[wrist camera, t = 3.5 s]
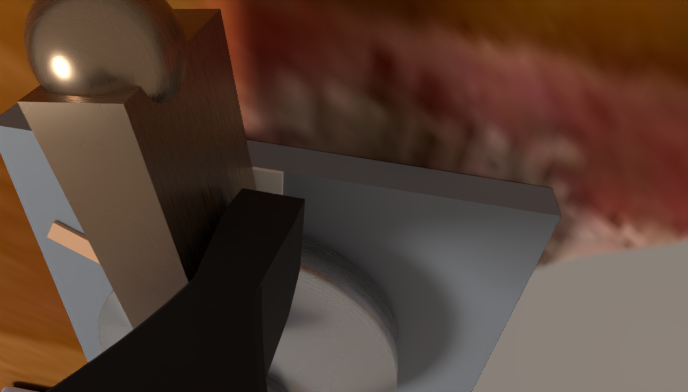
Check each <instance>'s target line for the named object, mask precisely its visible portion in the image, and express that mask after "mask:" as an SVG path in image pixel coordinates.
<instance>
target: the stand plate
mask: <svg viewBox="0 0 688 392" xmlns="http://www.w3.org/2000/svg"><path fill="white" fill-rule="evenodd" d="M247 145H248V150H249V155H250V160H251V165H252V170H253V175H254V180H255V185H256V190H257V191H263V192H268V193H273V194H280V195H286V196H291V197H297V198H303V199H305V209H304V223H303V237H304V238H307V239H309V240H312V241H314V242H317V243H319V244H321V245H323V246H325V247H327V248H329V249H331V250H332V251H334V252H336V253H338V254H340V255H341V256H343V257H344V258H346V259H347V260H349V261H350V262H352V263H353V264H355V265H356V266H357V267H358V268H359V269H361V270H362V271H363V272H364V273H365V274H367V275H368V276H369V277H370V278H371V279H372V280H373V281H374V283H375V284H376V285H377V286H378V287H379V288H380V289H381V291H382V292H383V293H384V295H385V296H386V298H387V299H388V300H389V302H390V304H391V306H392V308H393V310H394V312H395V315H396V319H397V322H398V326H399V353H398V372H397V388H396V392H472V390H473V388H474V386H475V384H476V382H477V380H478V378H479V376H480V374H481V372H482V370H483V368H484V366H485V365H486V363H487V360H488V359H489V357H490V355H491V353H492V351H493V349H494V347H495V345H496V343H497V341H498V339H499V337H500V335H501V333H502V331H503V329H504V327H505V325H506V323H507V321H508V319H509V318H510V315H511V314H512V312H513V310H514V308H515V306H516V304H517V302H518V300H519V298H520V296H521V294H522V292H523V290H524V288H525V286H526V284H527V282H528V280H529V278H530V276H531V275H532V273H533V271H534V269H535V267H536V265H537V263H538V261H539V259H540V257H541V255H542V253H543V251H544V249H545V247H546V245H547V243H548V241H549V239H550V237H551V235H552V233H553V231H554V230H555V228H556V226H557V224H558V222H559V220H560V218H561V214H560V211H559V208H558V205H557V202H556V199H555V196H554V193H553V189H552V188H547V187H540V186H534V185H528V184H521V183H515V182H509V181H503V180H496V179H490V178H484V177H477V176H471V175H465V174H459V173H452V172H446V171H440V170H433V169H427V168H421V167H415V166H408V165H402V164H396V163H389V162H383V161H377V160H371V159H364V158H358V157H352V156H345V155H339V154H333V153H327V152H320V151H314V150H308V149H301V148H295V147H289V146H283V145H276V144H270V143H264V142H257V141H251V140H247ZM0 153H1V155H2V157H3V160H4V162H5V165H6V167H7V169H8V172H9V174H10V177H11V179H12V181H13V184H14V186H15V189H16V191H17V193H18V196H19V198H20V201H21V203H22V205H23V208H24V210H25V213H26V215H27V217H28V220H29V222H30V225H31V227H32V229H33V232H34V234H35V237H36V239H37V241H38V244H39V246H40V248H41V251H42V253H43V256H44V258H45V260H46V263H47V265H48V268H49V270H50V272H51V275H52V277H53V280H54V282H55V284H56V287H57V289H58V292H59V294H60V296H61V299H62V301H63V304H64V306H65V308H66V311H67V313H68V316H69V318H70V320H71V323H72V325H73V328H74V330H75V332H76V335H77V337H78V340H79V342H80V344H81V347H82V349H83V351H84V354H85V356H86V359H87V361H88V362H90V361H91V360H93V359H94V358H95V357H97V356H98V355H100V354H101V353H102V352H103V351H102V349H101V346H100V343H99V339H98V334H97V322H98V316H99V313H100V311H101V308H102V306H103V304H104V303H105V301H106V299H107V298H108V296H109V295H110V293H111V292H112V290H113V288H112V286H111V284H110V282H109V280H108V278H107V276H106V275H105V273H104V271H103V269H102V267H101V265H100V263H99V261H98V259H97V257H96V255H95V253H94V251H93V249H92V247H91V245H90V243H89V241H88V239H87V237H86V235H85V233H84V231H83V229H82V227H81V226H80V224H79V222H78V220H77V218H76V216H75V214H74V212H73V210H72V208H71V206H70V204H69V202H68V200H67V198H66V196H65V194H64V192H63V190H62V188H61V186H60V184H59V182H58V180H57V178H56V177H55V175H54V173H53V171H52V169H51V167H50V165H49V163H48V161H47V159H46V157H45V155H44V153H43V151H42V149H41V147H40V145H39V143H38V141H37V139H36V137H35V135H34V133H33V131H32V129H31V128H30V126H29V124H28V122H27V120H26V118H25V116H24V114H23V112H22V110H21V108H20V106H19V104H18V103H17V104H15V105H14V106H13V107H11V108H10V109H8V110H7V111H6V112H4V113H3V114H2V115H0Z"/></svg>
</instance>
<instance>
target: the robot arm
mask: <svg viewBox="0 0 688 392" xmlns="http://www.w3.org/2000/svg"><path fill="white" fill-rule="evenodd" d="M304 209H305V199H303V198H297V197H291V196H286V195H280V194H273V193H268V192H263V191H257V190H251V189H245V188H242V189H241V190H240V192H239V193H238V194H237V195H236V196H235V197H234V199H233V200H232V201H231V203H230V204H229V206H228V207H227V208H226V210H225V211H224V213H223V215H222V217H221V219H220V221H219V224H218V226H217V228H216V230H215V232H214V234H213V236H212V239H211V241H210V243H209V245H208V247H207V250H206V252H205V254H204V256H203V258H202V261H201V263H200V265H199V267H198V269H197V272H196V274H195V276H194V278H193V279H192V280H191V281H190V282H189V283H187V284H186V285H185V286H184V287H183V288H182V289H181V290H180V291H179V292H178V293H176V294H175V295H174V296H173V297H172V298H171V299H170V300H169V301H167V302H166V303H165V304H164V305H163V306H162V307H160V308H159V309H158V310H157V311H156V312H154V313H153V314H152V315H151V316H150V317H148V318H147V319H146V320H145V321H143V322H142V323H141V324H140V325H138V326H137V327H136V328H134V329H133V330H132V331H131V332H129V333H128V334H127V335H125V336H124V337H123V338H122V339H120V340H119V341H118V342H116V343H115V344H114V345H112V346H111V347H109V348H108V349H107V350H105V351H104V352H102V353H101V354H100V355H98V356H97V357H95V358H94V359H93V360H91V361H90V362H88V363H87V364H86V365H84V366H83V367H82V368H80V369H79V370H77V371H76V372H74V373H73V374H71V375H70V376H68V377H67V378H66V379H64V380H63V381H61V382H60V383H58V384H57V385H55V386H54V387H52V388H51V389H49V390H47V391H46V392H267V383H266V377H267V374H268V372H269V369H270V366H271V363H272V361H273V358H274V355H275V352H276V350H277V347H278V344H279V341H280V339H281V336H282V333H283V330H284V327H285V325H286V322H287V319H288V316H289V313H290V309H291V305H292V301H293V297H294V293H295V289H296V285H297V280H298V276H299V272H300V265H301V251H302V237H303V223H304ZM1 392H38V391H32V390H27V389H21V388H16V387H4V388H3V390H2V391H1Z"/></svg>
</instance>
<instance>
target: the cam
mask: <svg viewBox="0 0 688 392" xmlns="http://www.w3.org/2000/svg"><path fill="white" fill-rule="evenodd" d="M24 45H25V51H26V55H27V59H28V62H29V64H30V67H31V69H32V72H33V74H34V75H35V77H36V79H37V80H38V82H39V83H40V86H38V87H37V88H36V89H34V90H33V91H31V92H30V93H29V94H27V95H26V96H25V97H23V98H22V99H20V100H19V101H18V104H19V106H20V108H21V110H22V112H23V114H24V116H25V118H26V120H27V122H28V124H29V126H30V128H31V129H32V131H33V133H34V135H35V137H36V139H37V141H38V143H39V145H40V147H41V149H42V151H43V153H44V155H45V157H46V159H47V161H48V163H49V165H50V167H51V169H52V171H53V173H54V175H55V177H56V178H57V180H58V182H59V184H60V186H61V188H62V190H63V192H64V194H65V196H66V198H67V200H68V202H69V204H70V206H71V208H72V210H73V212H74V214H75V216H76V218H77V220H78V222H79V224H80V226H81V227H82V229H83V231H84V233H85V235H86V237H87V239H88V241H89V243H90V245H91V247H92V249H93V251H94V253H95V255H96V257H97V259H98V261H99V263H100V265H101V267H102V269H103V271H104V273H105V275H106V276H107V278H108V280H109V282H110V284H111V286H112V288H113V290H112V292H111V293H110V295H109V296H108V298H107V299H106V301H105V303H104V304H103V306H102V308H101V311H100V313H99V316H98V322H97V334H98V339H99V343H100V346H101V349H102V351H103V352H104V351H105V350H107V349H108V348H109V347H111V346H112V345H114V344H115V343H116V342H118V341H119V340H120V339H122V338H123V337H124V336H125V335H127V334H128V333H129V332H131V331H132V330H133V329H134V328H136V327H137V326H138V325H140V324H141V323H142V322H143V321H145V320H146V319H147V318H148V317H150V316H151V315H152V314H153V313H154V312H156V311H157V310H158V309H159V308H160V307H162V306H163V305H164V304H165V303H166V302H167V301H169V300H170V299H171V298H172V297H173V296H174V295H175V294H176V293H178V292H179V291H180V290H181V289H182V288H183V287H184V286H185V285H186V284H187V283H189V282H190V281H191V280H192V279H193V278H194V276H195V274H196V272H197V269H198V267H199V265H200V263H201V261H202V258H203V256H204V254H205V252H206V250H207V247H208V245H209V243H210V241H211V239H212V236H213V234H214V232H215V230H216V228H217V226H218V224H219V221H220V219H221V217H222V215H223V213H224V211H225V210H226V208H227V207H228V206H229V204H230V203H231V201H232V200H233V199H234V197H235V196H236V195H237V194H238V193H239V192H240V190H241V189H242V188H245V189H251V190H256V185H255V180H254V175H253V170H252V165H251V160H250V155H249V150H248V145H247V140H246V135H245V130H244V125H243V120H242V115H241V110H240V105H239V100H238V95H237V90H236V85H235V80H234V75H233V70H232V65H231V60H230V55H229V50H228V45H227V40H226V35H225V30H224V25H223V20H222V15H221V10H220V9H172V7H171V6H170V5H169V4H168V2H167V1H166V0H35V1H34V3H33V4H32V6H31V8H30V10H29V13H28V15H27V19H26V23H25V29H24ZM398 353H399V326H398V322H397V319H396V315H395V312H394V310H393V308H392V306H391V304H390V302H389V300H388V299H387V298H386V296H385V295H384V293H383V292H382V291H381V289H380V288H379V287H378V286H377V285H376V284H375V283H374V281H373V280H372V279H371V278H370V277H369V276H368V275H367V274H365V273H364V272H363V271H362V270H361V269H359V268H358V267H357V266H356V265H355V264H353V263H352V262H350V261H349V260H347V259H346V258H344V257H343V256H341V255H340V254H338V253H336V252H334V251H332V250H331V249H329V248H327V247H325V246H323V245H321V244H319V243H317V242H314V241H312V240H309V239H307V238H304V237H302V251H301V265H300V272H299V276H298V280H297V285H296V289H295V293H294V297H293V301H292V305H291V309H290V313H289V316H288V319H287V322H286V325H285V327H284V330H283V333H282V336H281V339H280V341H279V344H278V347H277V350H276V352H275V355H274V358H273V361H272V363H271V366H270V369H269V372H268V374H267V377H266V383H267V392H396V388H397V372H398Z"/></svg>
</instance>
